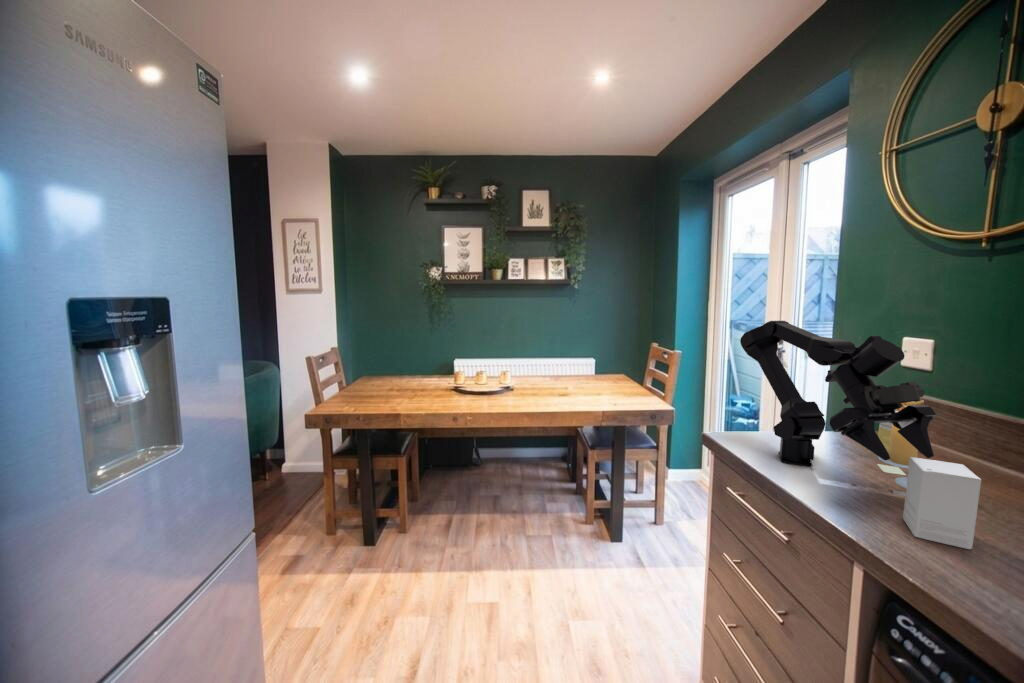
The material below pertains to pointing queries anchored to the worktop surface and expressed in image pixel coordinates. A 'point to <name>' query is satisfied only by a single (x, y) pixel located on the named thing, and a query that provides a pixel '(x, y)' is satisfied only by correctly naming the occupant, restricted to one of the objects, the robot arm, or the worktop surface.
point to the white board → (895, 470)
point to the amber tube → (900, 448)
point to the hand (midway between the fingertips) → (909, 458)
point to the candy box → (886, 427)
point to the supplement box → (941, 502)
